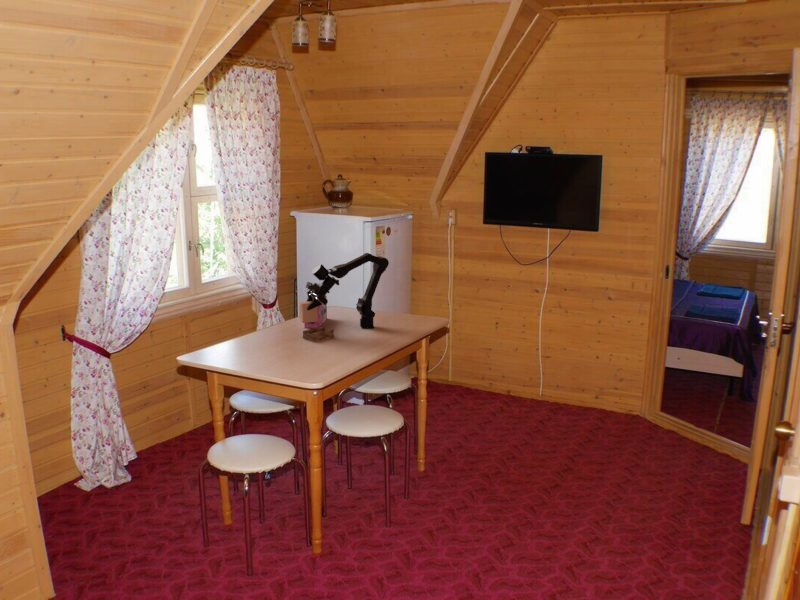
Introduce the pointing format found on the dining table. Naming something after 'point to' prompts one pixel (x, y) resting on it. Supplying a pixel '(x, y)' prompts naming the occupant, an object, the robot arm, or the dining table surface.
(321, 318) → the gum box
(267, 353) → the dining table surface
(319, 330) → the walnut rack
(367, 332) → the dining table surface
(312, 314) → the terracotta block
